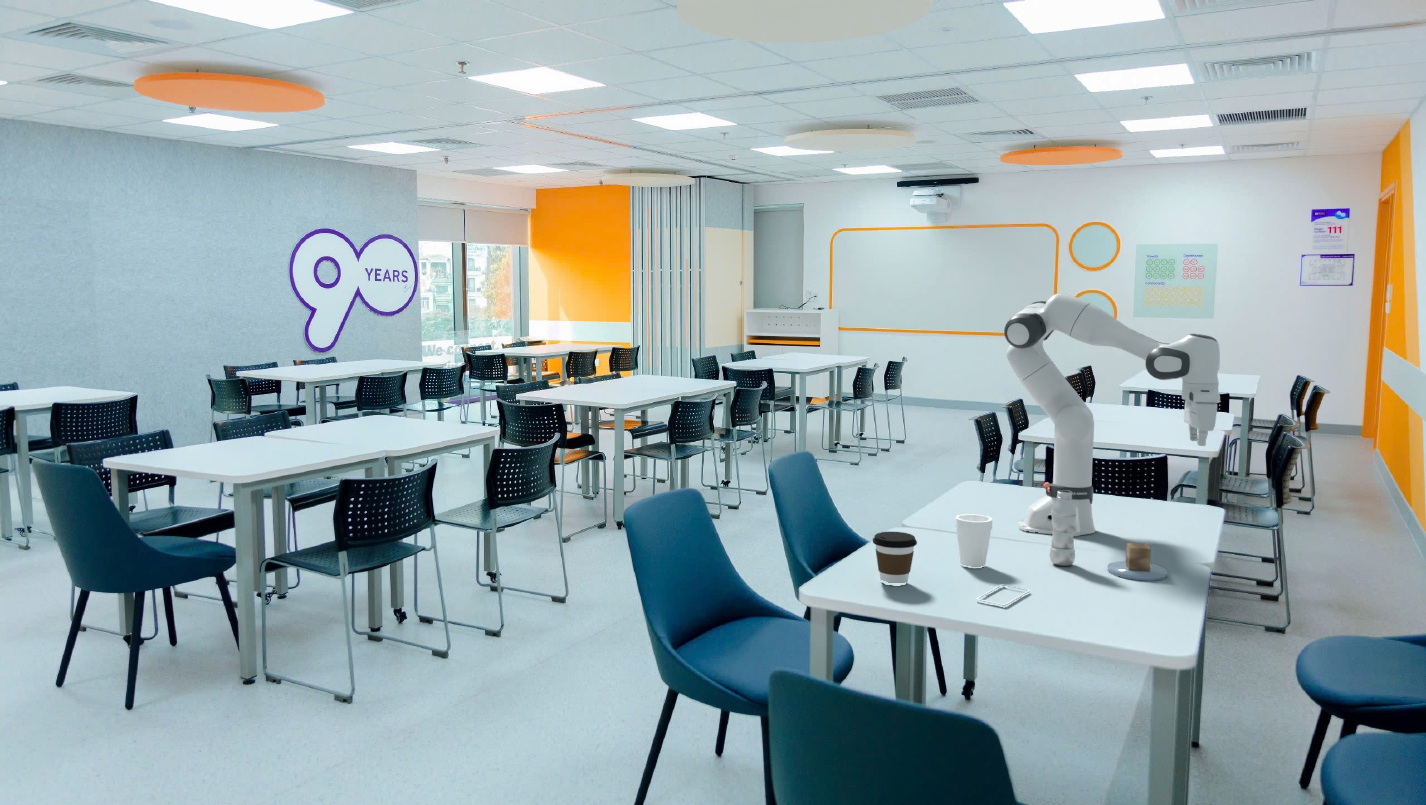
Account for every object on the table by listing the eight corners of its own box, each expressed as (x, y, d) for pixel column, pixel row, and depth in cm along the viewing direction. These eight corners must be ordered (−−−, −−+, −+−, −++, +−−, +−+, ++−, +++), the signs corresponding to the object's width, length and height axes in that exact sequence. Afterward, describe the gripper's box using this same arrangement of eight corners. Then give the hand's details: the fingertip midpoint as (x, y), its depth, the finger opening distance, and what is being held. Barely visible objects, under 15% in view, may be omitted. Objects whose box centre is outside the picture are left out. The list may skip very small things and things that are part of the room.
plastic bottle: (1074, 562, 250) (1077, 489, 248) (1075, 569, 244) (1078, 494, 242) (1048, 560, 252) (1051, 488, 250) (1049, 567, 246) (1051, 493, 244)
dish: (1111, 578, 236) (1111, 573, 236) (1104, 563, 249) (1104, 559, 249) (1171, 582, 232) (1172, 578, 232) (1161, 567, 245) (1161, 563, 245)
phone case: (1005, 610, 213) (1030, 595, 224) (1005, 604, 213) (1030, 589, 224) (974, 604, 218) (1001, 589, 229) (975, 598, 218) (1001, 583, 229)
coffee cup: (890, 592, 225) (891, 543, 224) (863, 580, 235) (863, 533, 234) (925, 585, 230) (926, 538, 229) (897, 574, 240) (898, 529, 239)
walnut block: (1128, 570, 239) (1129, 547, 238) (1125, 565, 243) (1126, 542, 243) (1150, 571, 237) (1151, 548, 237) (1146, 566, 242) (1147, 544, 241)
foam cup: (993, 563, 250) (994, 516, 249) (988, 572, 242) (989, 523, 240) (957, 559, 254) (958, 512, 253) (951, 568, 246) (952, 519, 244)
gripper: (1179, 389, 266) (1177, 437, 267) (1195, 396, 246) (1192, 448, 247) (1203, 390, 264) (1201, 438, 265) (1221, 397, 244) (1219, 448, 246)
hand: (1197, 443), depth 256 cm, fingers open, 8 cm apart
